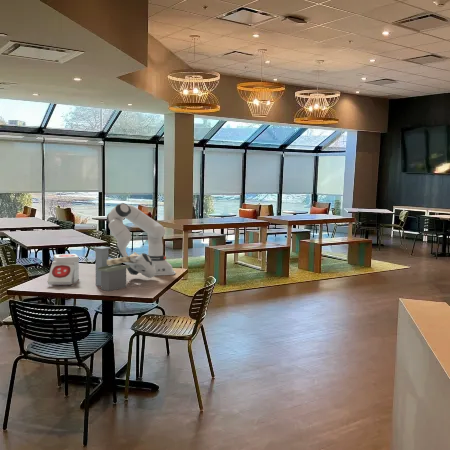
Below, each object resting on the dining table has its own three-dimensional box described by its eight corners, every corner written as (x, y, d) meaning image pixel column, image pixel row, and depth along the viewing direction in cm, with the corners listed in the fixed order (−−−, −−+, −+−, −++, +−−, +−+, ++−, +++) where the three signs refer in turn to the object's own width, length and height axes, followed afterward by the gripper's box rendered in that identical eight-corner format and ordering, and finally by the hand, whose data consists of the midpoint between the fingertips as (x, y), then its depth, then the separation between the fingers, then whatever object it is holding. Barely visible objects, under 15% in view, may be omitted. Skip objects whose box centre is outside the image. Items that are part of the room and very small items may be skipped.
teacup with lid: (141, 265, 423) (141, 251, 422) (139, 267, 414) (139, 253, 412) (126, 265, 422) (126, 251, 421) (125, 266, 413) (125, 252, 412)
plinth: (102, 283, 349) (102, 246, 346) (110, 284, 344) (110, 247, 342) (93, 285, 342) (93, 247, 340) (101, 286, 338) (101, 248, 335)
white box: (44, 287, 332) (44, 260, 331) (55, 278, 362) (55, 253, 361) (73, 287, 334) (73, 260, 332) (82, 278, 364) (82, 253, 362)
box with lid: (119, 284, 345) (119, 263, 344) (129, 286, 340) (129, 264, 339) (97, 289, 328) (97, 267, 327) (107, 291, 323) (107, 269, 322)
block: (130, 260, 348) (130, 255, 347) (133, 260, 346) (133, 256, 346) (106, 264, 329) (106, 259, 329) (109, 264, 328) (109, 260, 327)
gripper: (130, 259, 360) (118, 252, 350) (151, 263, 349) (140, 255, 339) (127, 267, 358) (115, 260, 348) (148, 271, 347) (136, 263, 336)
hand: (127, 258), depth 343 cm, fingers closed on block, 3 cm apart
